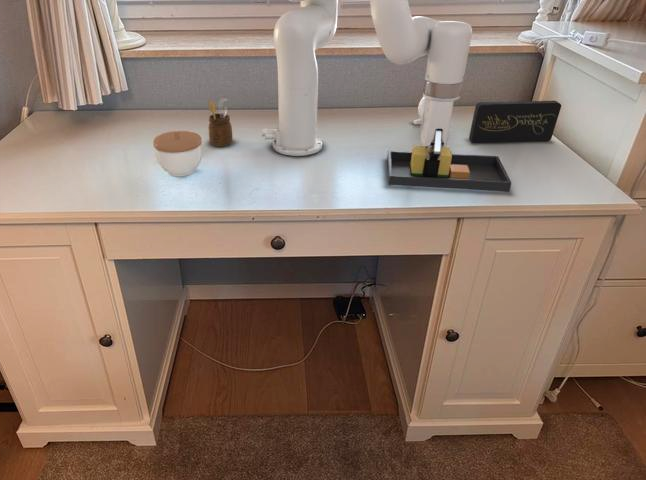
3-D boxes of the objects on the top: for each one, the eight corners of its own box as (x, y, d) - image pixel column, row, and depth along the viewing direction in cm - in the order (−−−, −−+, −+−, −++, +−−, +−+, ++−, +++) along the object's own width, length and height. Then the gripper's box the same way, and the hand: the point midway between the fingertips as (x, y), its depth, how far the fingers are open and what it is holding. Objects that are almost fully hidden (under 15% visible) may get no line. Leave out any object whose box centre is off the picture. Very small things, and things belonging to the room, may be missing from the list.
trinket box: (154, 165, 122) (148, 127, 116) (198, 159, 125) (194, 121, 119) (162, 184, 114) (155, 143, 108) (209, 176, 117) (205, 136, 111)
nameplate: (546, 138, 134) (558, 100, 128) (550, 141, 133) (562, 102, 127) (468, 140, 133) (476, 102, 127) (470, 143, 132) (479, 104, 126)
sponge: (411, 175, 114) (414, 154, 111) (409, 166, 118) (412, 145, 115) (448, 177, 113) (452, 156, 110) (445, 168, 117) (449, 147, 114)
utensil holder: (237, 141, 134) (234, 94, 127) (224, 149, 130) (220, 101, 123) (218, 137, 136) (214, 91, 129) (204, 145, 132) (200, 98, 125)
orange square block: (450, 178, 114) (451, 171, 113) (447, 170, 117) (449, 164, 116) (468, 179, 113) (470, 172, 112) (466, 171, 117) (467, 165, 116)
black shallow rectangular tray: (388, 187, 112) (389, 176, 110) (386, 160, 123) (388, 150, 122) (508, 194, 109) (511, 182, 107) (495, 166, 120) (498, 156, 119)
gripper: (420, 76, 112) (409, 155, 123) (426, 100, 99) (413, 186, 109) (456, 78, 111) (441, 156, 122) (467, 102, 98) (450, 188, 108)
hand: (428, 170), depth 116 cm, fingers closed on sponge, 5 cm apart
